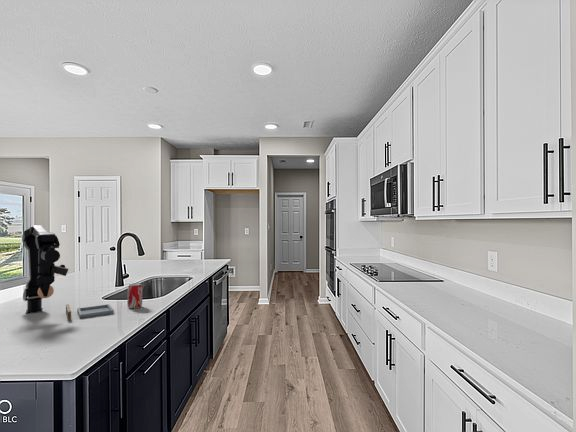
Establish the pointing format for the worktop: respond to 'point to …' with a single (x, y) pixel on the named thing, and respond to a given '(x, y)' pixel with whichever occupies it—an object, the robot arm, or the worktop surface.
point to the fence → (68, 312)
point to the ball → (48, 292)
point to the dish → (94, 311)
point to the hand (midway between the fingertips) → (45, 295)
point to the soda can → (134, 295)
